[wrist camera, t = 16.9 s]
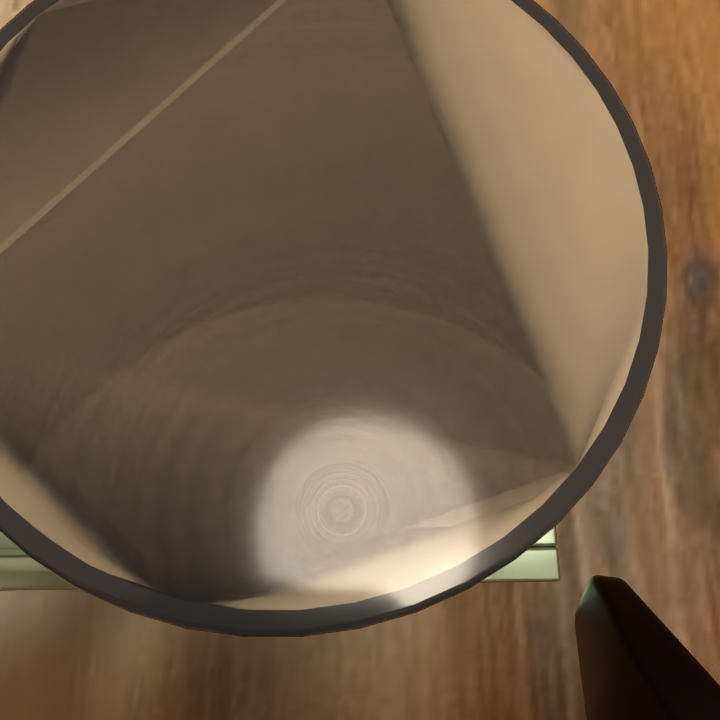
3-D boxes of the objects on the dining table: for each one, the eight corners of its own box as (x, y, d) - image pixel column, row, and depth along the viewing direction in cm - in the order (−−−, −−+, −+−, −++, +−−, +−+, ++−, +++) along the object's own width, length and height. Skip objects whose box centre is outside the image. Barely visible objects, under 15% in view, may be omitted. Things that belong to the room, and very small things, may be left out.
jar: (194, 556, 15) (-168, 670, 4) (195, 300, 17) (-70, -81, 6) (462, 539, 15) (742, 608, 5) (439, 288, 17) (607, -96, 6)
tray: (521, 568, 16) (561, 581, 13) (-236, 580, 15) (-372, 597, 12) (496, 218, 18) (526, 163, 15) (-162, 217, 18) (-262, 159, 15)
